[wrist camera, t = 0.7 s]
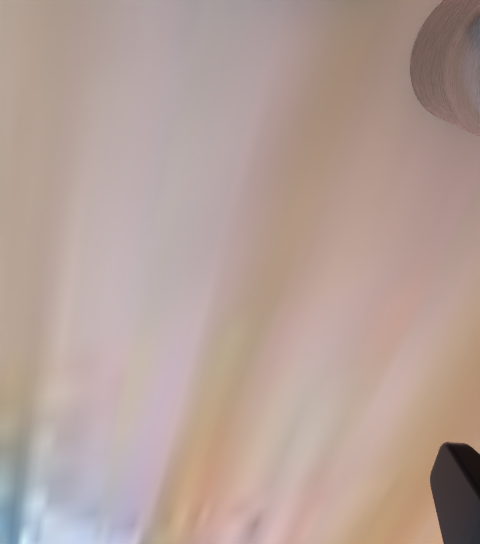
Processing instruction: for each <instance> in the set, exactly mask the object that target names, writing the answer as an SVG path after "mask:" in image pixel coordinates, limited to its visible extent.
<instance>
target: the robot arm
mask: <svg viewBox="0 0 480 544" xmlns="http://www.w3.org/2000/svg"><path fill="white" fill-rule="evenodd" d="M430 484H431V490H432V494H433V499H434V503H435V508H436V512H437V516H438V521H439V525H440V530H441V534H442V538H443V543H444V544H480V454H479V453H478V452H477V451H476V450H474V449H473V448H472V447H471V446H469V445H468V444H464V443H450V442H446V443H444V444H442V445H441V447H440V449H439V452H438V455H437V457H436V460H435V463H434V466H433V468H432V471H431V476H430Z"/></svg>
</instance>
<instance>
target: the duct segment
mask: <svg viewBox="0 0 480 544" xmlns="http://www.w3.org/2000/svg"><path fill="white" fill-rule="evenodd" d="M410 74H411V81H412V86H413V89H414V92H415V94H416V96H417V98H418V100H419V101H420V102H421V104H422V105H423V106H424V107H425V108H426V109H427V110H428V111H429V112H430V113H432V114H433V115H435V116H437V117H439V118H440V119H443V120H445V121H447V122H449V123H452V124H454V125H456V126H458V127H461V128H463V129H465V130H467V131H470V132H472V133H474V134H476V135H479V136H480V0H444V1H443V2H442V3H441V4H440V5H439V6H438V7H437V8H436V9H435V10H434V11H433V12H432V13H431V14H430V16H429V17H428V18H427V20H426V21H425V23H424V24H423V26H422V28H421V30H420V31H419V34H418V36H417V38H416V41H415V44H414V47H413V50H412V56H411V64H410Z"/></svg>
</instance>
